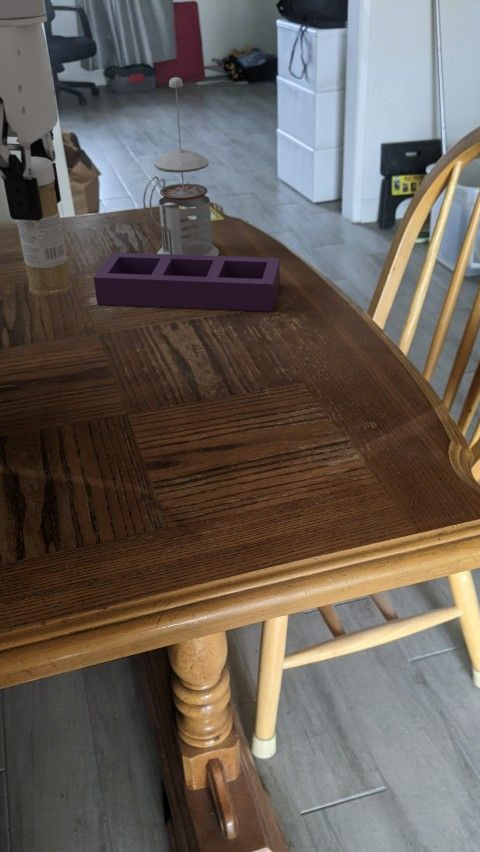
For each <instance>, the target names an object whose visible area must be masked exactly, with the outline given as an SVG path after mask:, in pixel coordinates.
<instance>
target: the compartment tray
mask: <svg viewBox="0 0 480 852" xmlns="http://www.w3.org/2000/svg"><path fill="white" fill-rule="evenodd" d="M280 259H281V258H280V257H258V256H257V257H256V256H255V257H253V256H227V255H226V256H225V255H218V256H201V255H173V254H157V253H142V252H141V253H139V252H115V251H114V252H111V253H110V254H109V255H108V257H107V258H106V259H105V261H104V262H103V263H102V265H101V266H100V268H99V269H98V271H96V273H95V274H94V276H93V284H94V291H95V297H96V304H97V305H98V306H118V307H119V306H120V307H122V306H123V307H143V308H144V307H147V308H148V307H149V308H169V309H172V308H173V309H194V310H196V309H198V310H220V311H221V310H222V311H244V312H245V311H246V312H266V313H267V312H270V313H273V312H274V309H275V305H276V301H277V297H278V293H279V289H280V285H281V282H280V281H281V278H280V277H281V273H280V271H281V270H280V269H281V266H280V265H281V260H280Z"/></svg>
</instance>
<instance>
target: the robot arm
mask: <svg viewBox="0 0 480 852" xmlns="http://www.w3.org/2000/svg"><path fill="white" fill-rule="evenodd" d="M47 16H48V15H47V9H46V1H45V0H0V178H1V179H2V182H3V185H4V191H5V196H6V202H7V207H8V212H9V217H10V218H11V219H12V220H15V221H17V220H34V221H39V220H41V219H42V218H43V212H42V206H41V200H40V194H39V188H38V182H37V178H32V164H31V157H43V158H47V159H49V160H50V161H51V162H52V164H53V170H54V175H55V180H54V182H55V184H54V188H55V193H56V199H57V205H59V203H60V202H61V201H62V197H61V189H60V184H59V176H58V170H57V165H56V164H57V163H56V159H57V158H56V156H57V155H56V151H55V146H54V142H53V141H54V139H55V137H54V135H55V134H54V128H55V127H57V124H58V120H59V115H58V103H57V95H56V89H55V84H54V83H55V82H54V76H53V71H52V66H51V61H50V60H51V59H50V55H49V50H48V46H47V41H46V36H45V32H44V28H43V24H44V23H47V22H48V17H47ZM9 138H17V139H16V140H15V141H16V143H8V139H9ZM11 151H13V152H20V158H21V161H20V160H19V159H18V158H19V157H18V155H16V153H15V154H13V153H11Z"/></svg>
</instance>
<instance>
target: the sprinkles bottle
mask: <svg viewBox="0 0 480 852" xmlns="http://www.w3.org/2000/svg"><path fill="white" fill-rule="evenodd" d="M18 159H19V160H20V161H21V157H18ZM52 163H53V162H51V161H50V160H49V159H47V158H43V157H31V164H32V178H37V182H38V188H39V194H40V200H41V206H42V212H43V218H42V219H41V220H39V221H34V220H16V224H17V230H18V234H19V240H20V245H21V251H22V256H23V260H24V264H25V270H26V274H27V278H28V290H29V292H30V293H31V294H33V295H35V296H38V297H47V298H49V297H58V296H61V295H64V294H65V293H67V292H69V291H70V290H71V288H72V282H71V280H70V276H69V270H68V269H69V268H68V262H67V253H66V246H65V239H64V232H63V226H62V220H61V214H60V210H59V206H58V205H59V204H57V199H56V193H55V188H54V184H55V182H54V180H55V175H54V170H53V164H52Z"/></svg>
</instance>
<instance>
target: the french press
mask: <svg viewBox="0 0 480 852" xmlns="http://www.w3.org/2000/svg"><path fill="white" fill-rule="evenodd" d="M168 87H169V88H172V89H173V88H175V89H174V90H175V101H176V114H177V115H176V116H177V129H178V130H177V131H178V140H179V143H178V144H179V149H177V150H171V151H169V152H166V153H164V154H162V155H161V156H160V157H159V158H157V159H156V160H155V161H154V163H153V165H154V167H155V168H156V170H158V171H161V172H164V173H175V174H176V173H181V182H179V183H174V184H168V185H166V179H164V178H160V179H159V177H158V176H156V175H155V176H154V177H152V178H151V179H150V180H149V181H148V183H147V184H146V186H145V189H144V192H143V197H142V203H143V211H144V214H145V216H146V218H147V220H148V222H150V223H151V224H152V225H154V226H157V227H158V228H160V229H161V236H162V237H161V239H162V240H161V241H162V247H161V248H159V250H158V251H157V253H156V254H173V255H201V256H220V251H219V249H218V247H216V246H215V245H214V244H213V235H212V234H213V233H212V232H213V231H212V220H211V216H212V214H211V200H210V198H209V196H207V193H208V188H207V187H206V186H205V185H202V184H200V183H199V184H198V183H191V182H189V183H188V182H187V183H184V173H191V172H197V171H200V170H203V169H205V168H206V167H208V166H209V163H210V161H209V159H208V158H207V157H205V156H203V155H201V154H199V153H198V152H195V151H193V150H187V149H185V150H184V149H182V141H181V127H180V111H179V98H178V88H182V87H184V83H183V79H181V78H180V77H176V76H174V77H172V78H170V80H169V82H168ZM155 179H156V180H157V181H156V183H154V185H153V187H152V189H151V192H150V196H149V202H148V204H149V213H150V216H151V218H152V220H151V218H150V216H149V214H148V212H147V206H146V196H147V195H146V194H147V191H148V188H149V186H150V184H152V182H153V181H154V180H155ZM161 182H163V183H162V184H163V185H161V184H160V183H161ZM158 186H159V188H161V189H160V190H159V194H160V196H162V197H161V198H160V199H159V200H158V206H159V216H160V217H159V219H160V224H159V223H158V222H157V221H156V219H155V217H154V213H153V210H152V200H153V195H154V191H155V190H156V187H158ZM169 203H171V204H173V205H176V206H180V207H184V208H176V207H173V206H165V207H164V208H163V206H164V205H165V204H169ZM164 215H165V216H164ZM188 217H196V218H193V219H188ZM164 223H165V224H164ZM192 225H196V226H193V227H189V226H192ZM165 231H166V233H165ZM194 233H196V234H194ZM191 234H192V235H191Z"/></svg>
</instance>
